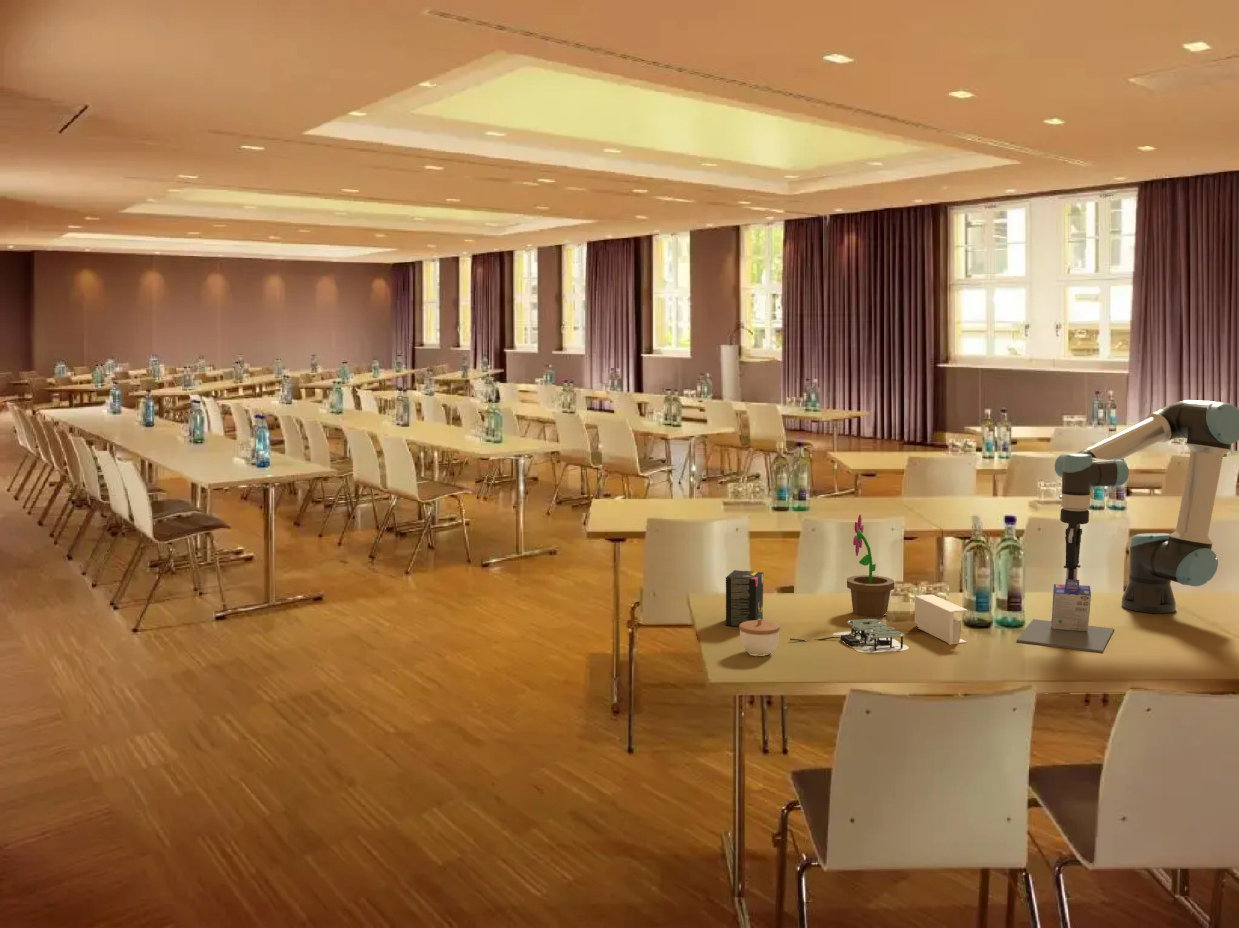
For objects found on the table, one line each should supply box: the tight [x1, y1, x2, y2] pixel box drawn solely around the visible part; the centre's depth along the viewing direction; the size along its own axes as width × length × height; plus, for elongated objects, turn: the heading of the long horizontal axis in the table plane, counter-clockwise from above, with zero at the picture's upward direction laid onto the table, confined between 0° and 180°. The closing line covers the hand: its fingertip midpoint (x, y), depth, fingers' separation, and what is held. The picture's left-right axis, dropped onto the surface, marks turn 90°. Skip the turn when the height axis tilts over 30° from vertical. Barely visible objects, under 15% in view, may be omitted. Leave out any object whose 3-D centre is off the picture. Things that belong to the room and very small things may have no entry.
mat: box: [1016, 618, 1115, 654], centre depth 321 cm, size 25×22×1 cm
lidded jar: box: [738, 619, 781, 655], centre depth 306 cm, size 11×11×9 cm
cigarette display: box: [914, 594, 969, 646], centre depth 324 cm, size 20×6×9 cm, turn 15°
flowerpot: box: [846, 514, 895, 619], centre depth 346 cm, size 14×14×30 cm
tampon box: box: [725, 569, 764, 627], centre depth 337 cm, size 11×9×15 cm
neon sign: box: [789, 618, 910, 654], centre depth 316 cm, size 21×4×29 cm
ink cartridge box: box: [1050, 578, 1092, 631], centre depth 324 cm, size 10×6×14 cm, turn 73°
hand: (1070, 590), depth 326 cm, fingers closed
